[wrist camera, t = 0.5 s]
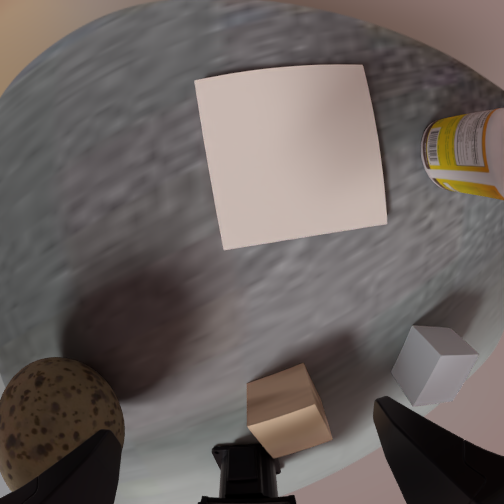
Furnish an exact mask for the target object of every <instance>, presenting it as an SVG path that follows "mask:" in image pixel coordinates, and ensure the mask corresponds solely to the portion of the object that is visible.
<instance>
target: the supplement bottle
mask: <svg viewBox="0 0 504 504" xmlns="http://www.w3.org/2000/svg"><path fill="white" fill-rule="evenodd" d="M421 157H422V162H423V165H424V168H425V170H426V172H427V174H428V176H429V177H430V179H431V180H432V181H433V182H434V183H435V184H436V185H438V186H439V187H441V188H443V189H445V190H449V191H455V192H462V193H468V194H473V195H479V196H485V197H490V198H495V199H500V200H504V108H499V109H493V110H487V111H481V112H475V113H469V114H464V115H459V116H454V117H448V118H444V119H439V120H436V121H434V122H433V123H431V124H430V125H429V126H428V127H427V129H426V130H425V132H424V134H423V137H422V141H421Z"/></svg>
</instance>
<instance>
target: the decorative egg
mask: <svg viewBox="0 0 504 504" xmlns="http://www.w3.org/2000/svg"><path fill="white" fill-rule="evenodd" d="M100 429H109V430H111V431H112V432H113V433H114V434H115V436H116V437H117V439H118V440H119V442H120V443H121V446H122V448H123V444H124V436H125V426H124V417H123V413H122V409H121V406H120V404H119V401H118V399H117V397H116V395H115V393H114V391H113V390H112V388H111V387H110V385H109V384H108V383H107V382H106V380H105V379H104V378H103V377H102V376H101V375H100V374H99V373H97V372H96V371H95V370H94V369H92V368H91V367H89V366H87V365H85V364H84V363H81V362H79V361H76V360H73V359H69V358H62V357H51V358H44V359H40V360H37V361H35V362H32V363H30V364H29V365H27V366H25V367H24V368H23V369H21V370H20V371H19V372H18V373H17V374H16V375H15V376H14V377H13V378H12V380H11V381H10V382H9V384H8V385H7V387H6V389H5V390H4V392H3V394H2V397H1V400H0V472H1V474H2V477H3V479H4V480H5V482H6V484H7V486H8V487H9V489H10V490H11V491H12V492H13V491H15V490H17V489H18V488H20V487H22V486H24V485H25V484H27V483H28V482H30V481H31V480H33V479H34V478H35V477H37V476H39V475H40V474H41V473H42V472H44V471H45V470H47V469H48V468H49V467H51V466H52V465H54V464H55V463H56V462H58V461H59V460H60V459H62V458H63V457H64V456H66V455H67V454H68V453H70V452H71V451H72V450H74V449H75V448H76V447H78V446H79V445H80V444H82V443H83V442H84V441H86V440H87V439H88V438H90V437H91V436H92V435H94V434H95V433H96V432H97V431H99V430H100Z"/></svg>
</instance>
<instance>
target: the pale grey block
mask: <svg viewBox="0 0 504 504" xmlns="http://www.w3.org/2000/svg"><path fill="white" fill-rule="evenodd" d="M478 356H479V353H477V352H476V351H475V350H474V349H473V348H472V347H471V346H470V345H469V344H468V343H467V342H466V341H464V340H463V339H462V338H461V337H460V336H459V335H458V334H457V333H456V332H454V331H453V330H452V329H451V328H445V327H430V326H416V325H412V326H411V329H410V331H409V334H408V336H407V338H406V341H405V343H404V345H403V347H402V350H401V352H400V354H399V356H398V358H397V360H396V362H395V365H394V367H393V369H392V371H391V373H392V375H393V376H394V378H395V380H396V381H397V383H398V384H399V386H400V387H401V389H402V390H403V392H404V394H405V395H406V397H407V398H408V400H409V401H410V403H411V405H412V406H421V405H429V404H437V403H444V402H450V401H453V400H454V398H455V397H456V395H457V393H458V392H459V390H460V388H461V387H462V385H463V383H464V382H465V380H466V378H467V376H468V375H469V373H470V371H471V369H472V367H473V366H474V364H475V362H476V360H477V358H478Z"/></svg>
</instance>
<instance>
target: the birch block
mask: <svg viewBox="0 0 504 504" xmlns="http://www.w3.org/2000/svg"><path fill="white" fill-rule="evenodd" d="M247 427H248V428H249V430H250V431H251V432H252V433H253V435H254V436H255V437H256V438H257V440H258V441H259V442H260V443H261V444H262V446H263V447H264V448H265V449H266V450H267V452H268V453H269V454H270V455H271V456H272V458H273V459H274V458H278V457H281V456H285V455H288V454H292V453H295V452H298V451H301V450H304V449H308V448H311V447H314V446H316V445H319V444H322V443H325V442H328V441H330V440H333V438H332V435H331V431H330V428H329V425H328V421H327V418H326V415H325V411H324V408H323V405H322V401H321V399H320V397H319V394H318V392H317V390H316V388H315V386H314V384H313V382H312V380H311V378H310V375H309V373H308V371H307V369H306V367H305V365H304V363H301V364H299V365H296V366H294V367H291V368H289V369H286V370H283V371H281V372H278V373H275V374H273V375H270V376H267V377H264V378H262V379H259V380H256V381H253V382H250V383H247Z"/></svg>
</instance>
